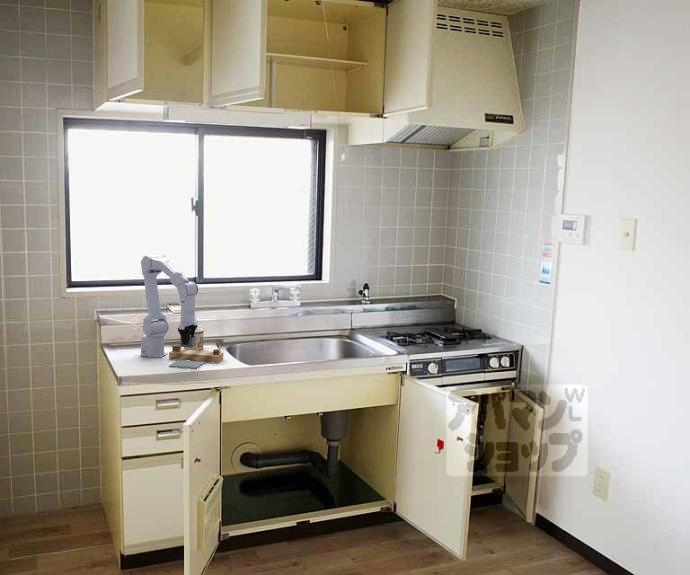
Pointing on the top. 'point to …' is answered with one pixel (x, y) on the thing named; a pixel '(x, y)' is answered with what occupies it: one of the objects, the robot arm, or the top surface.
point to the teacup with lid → (197, 340)
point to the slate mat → (187, 364)
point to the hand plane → (195, 355)
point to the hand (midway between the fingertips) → (187, 343)
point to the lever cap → (191, 342)
